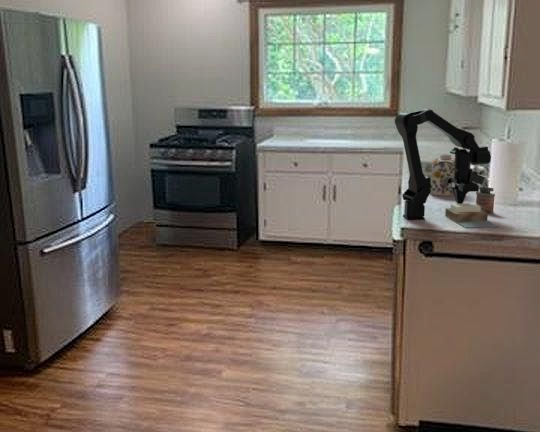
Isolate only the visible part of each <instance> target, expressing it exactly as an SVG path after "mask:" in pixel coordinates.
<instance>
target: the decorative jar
mask: <svg viewBox="0 0 540 432" xmlns="http://www.w3.org/2000/svg"><path fill="white" fill-rule="evenodd" d="M454 163H455V157H454V158H453V157H452V154H446V153H445V154H440V157H436V158H433V159H432V162H431V174H430V183H431V186H432V188H431V193H430V194H429V196H444V197H445V196H446V197H454V195H453V193H452V190H451V188H450V187H452V184H450V183H449V184H448V185H446V184H444V179H445V178H446V177H453V176H454V171H453V170H452V167H454Z"/></svg>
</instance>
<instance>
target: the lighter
mask: <svg viewBox="0 0 540 432" xmlns="http://www.w3.org/2000/svg"><path fill="white" fill-rule="evenodd" d="M494 191H495V190H494V188H493V187H490V186H489V187H488V186H487V185H486V186H479V191H476V197H475V198H476V199H475V204H477V205H479V206H481V210H482V211H484V212H486V213H488V215H489V214H490V215H491V214H494V212H495V211H494V205H495V197H496V194H495V193H492V192H494Z"/></svg>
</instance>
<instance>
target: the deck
mask: <svg viewBox="0 0 540 432" xmlns="http://www.w3.org/2000/svg"><path fill="white" fill-rule="evenodd" d="M444 216H445V217H446V218H448V219H449V220H451V221H452V222H454V223H456V222H455V221H488V217H489V214H488V213H486V212H484V211H482V210H480V212H455V211H453V210H452V209H451V207H450V208H448V207H447V208H445V214H444Z"/></svg>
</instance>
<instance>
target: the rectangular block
mask: <svg viewBox="0 0 540 432" xmlns="http://www.w3.org/2000/svg"><path fill="white" fill-rule="evenodd" d="M450 208H451V209H452V210H453V211H455V212H480V210H481V206H479V205H477V204H476V202H475V203H474V202H470V203H469V202H467V203H466V202H465V203H464V202H463V203H461V204H457V203H450Z"/></svg>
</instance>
